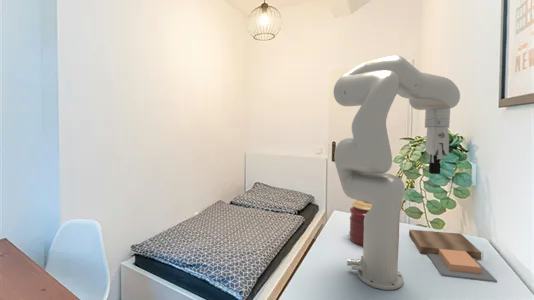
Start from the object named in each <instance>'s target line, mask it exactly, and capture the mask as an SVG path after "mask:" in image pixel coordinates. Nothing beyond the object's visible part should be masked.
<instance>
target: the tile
mask: <svg viewBox="0 0 534 300" xmlns="http://www.w3.org/2000/svg"><path fill="white" fill-rule="evenodd" d="M438 255H439V256H440V257H441V259H442V260H443V261H444V263H445V264H446V265H447V267H448V268H449V269H450V270H452V271H461V272H470V273H478V274H481V267H480V266H479V265H478V263H477V262H476V261H475V260H474V259H473V258H472V257H471V256H470V255H469V254H468V253H467V252H466V251H457V250H447V249H438Z"/></svg>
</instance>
